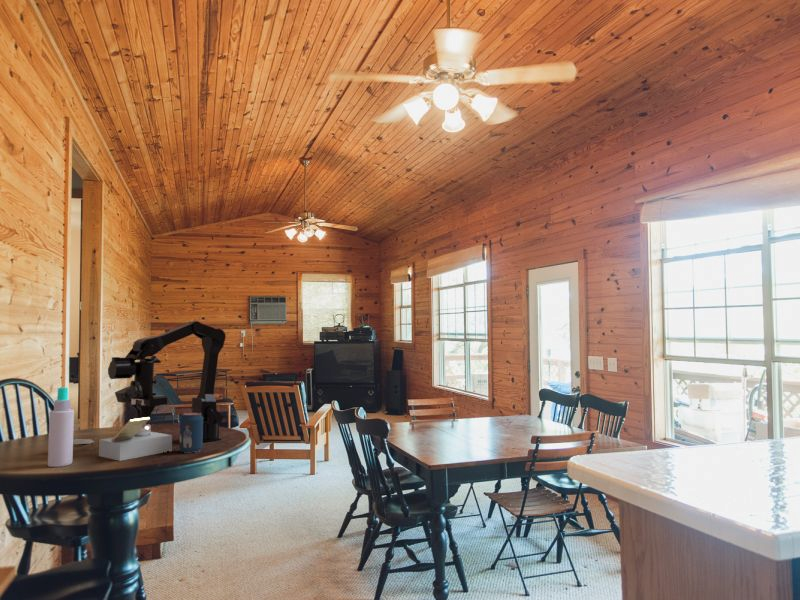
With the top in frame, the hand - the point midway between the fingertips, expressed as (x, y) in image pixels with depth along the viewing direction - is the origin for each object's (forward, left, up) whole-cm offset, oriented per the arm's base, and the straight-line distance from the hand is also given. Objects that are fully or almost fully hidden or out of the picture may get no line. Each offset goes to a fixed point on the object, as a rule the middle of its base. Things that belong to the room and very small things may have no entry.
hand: (142, 426), depth 178 cm
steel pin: (0, 0, -8) cm, 8 cm away
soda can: (-9, +14, -8) cm, 18 cm away
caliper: (+10, -24, -8) cm, 27 cm away
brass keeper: (+9, +9, +1) cm, 12 cm away
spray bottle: (+24, -1, -8) cm, 25 cm away
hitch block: (+3, +2, -8) cm, 9 cm away
